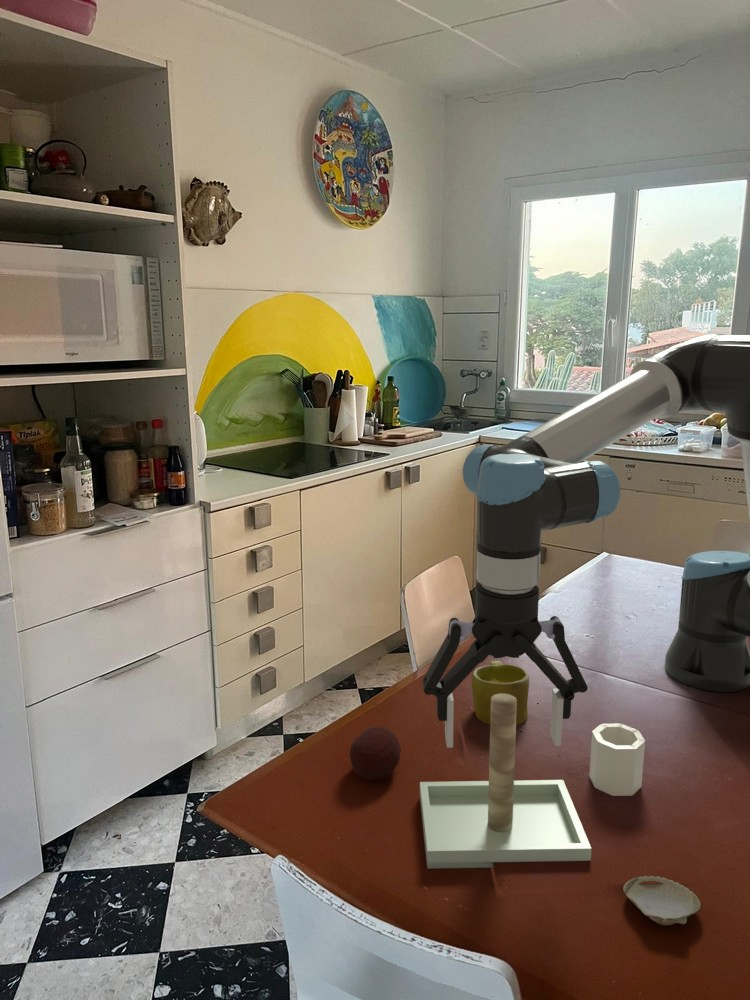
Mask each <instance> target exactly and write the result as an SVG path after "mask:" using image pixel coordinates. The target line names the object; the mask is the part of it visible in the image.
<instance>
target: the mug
mask: <svg viewBox="0 0 750 1000" xmlns="http://www.w3.org/2000/svg"><path fill="white" fill-rule="evenodd" d="M529 686H530V676H529V674H528V672H527V671H526V670H525V669H524V668H522V667H521V666H518V665H513V664H503V663H502V661H501V660H492V661H491V660H490V663H489V664H488V665H484V666H479V667H477V668H475V669H474V670H473V671H472V676H471V690H472V697H473V698H472V699H473V709H474V714H475V717H476V718H477V719H478V721H481V722H482V723H484V724H486V725H489V726H490V718H491V697H492V696H493V695H495V694H501V693H503V694H509V695H512V696H514V697H515V698H516V699H517V710H516V727H517V726H520V725H522V724H524V723H525V722H526V720H527V718H528V713H529V711H528V709H529V708H528V699H529Z"/></svg>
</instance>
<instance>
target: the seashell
mask: <svg viewBox="0 0 750 1000" xmlns="http://www.w3.org/2000/svg"><path fill="white" fill-rule="evenodd" d="M650 881H651V882H658V883H643V882H650ZM622 890H623V892H624V894H625V896H626V897H627V898H628V900H630V902H631V903H632V904H633V905H634V906H635V907H636V908H637V909H638V910H639V911H641V913H643V915H644V916H646V917H648V918H649V919H650V920H651V921H653V922H655V923H657V924H659V925H660V926H661V925H662V926H672V925H674V924H677V923H678V924H681V925H685V924H687V921H688V918H689V917H692V916H693V915H694V914H696V913H697V912H699V911H700V910H701V907H702V904H701V901H700V899H699V897H698V895H697V894H695V892H694V891H692V890H691V889H690V888H688V887H686V886H685V885H683V884H681V883H680V882H677V881H674V880H672V879H668V878H665V877H661V876H653V875H649V876H647V875H644V876H637V877H633V878H632V879H629V880H628V881H626V882H625V884H624V885H623V889H622Z"/></svg>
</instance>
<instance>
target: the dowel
mask: <svg viewBox="0 0 750 1000" xmlns="http://www.w3.org/2000/svg"><path fill="white" fill-rule="evenodd" d="M516 710H517V699H516V698H515V697H514V696H512V695H509V694H503V693H501V694H495V695H493V696H492V697H491V718H490V725H489V726H490V727H489V758H488V762H489V763H488V781H489V794H488V826H489V828H491V829H492V830H494V831H496V832H507V831H509V830H511V828H512V824H513V795H514V781H515V766H516V765H515V764H516V760H515V759H516V737H517V735H516V733H517V726H516Z"/></svg>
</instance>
